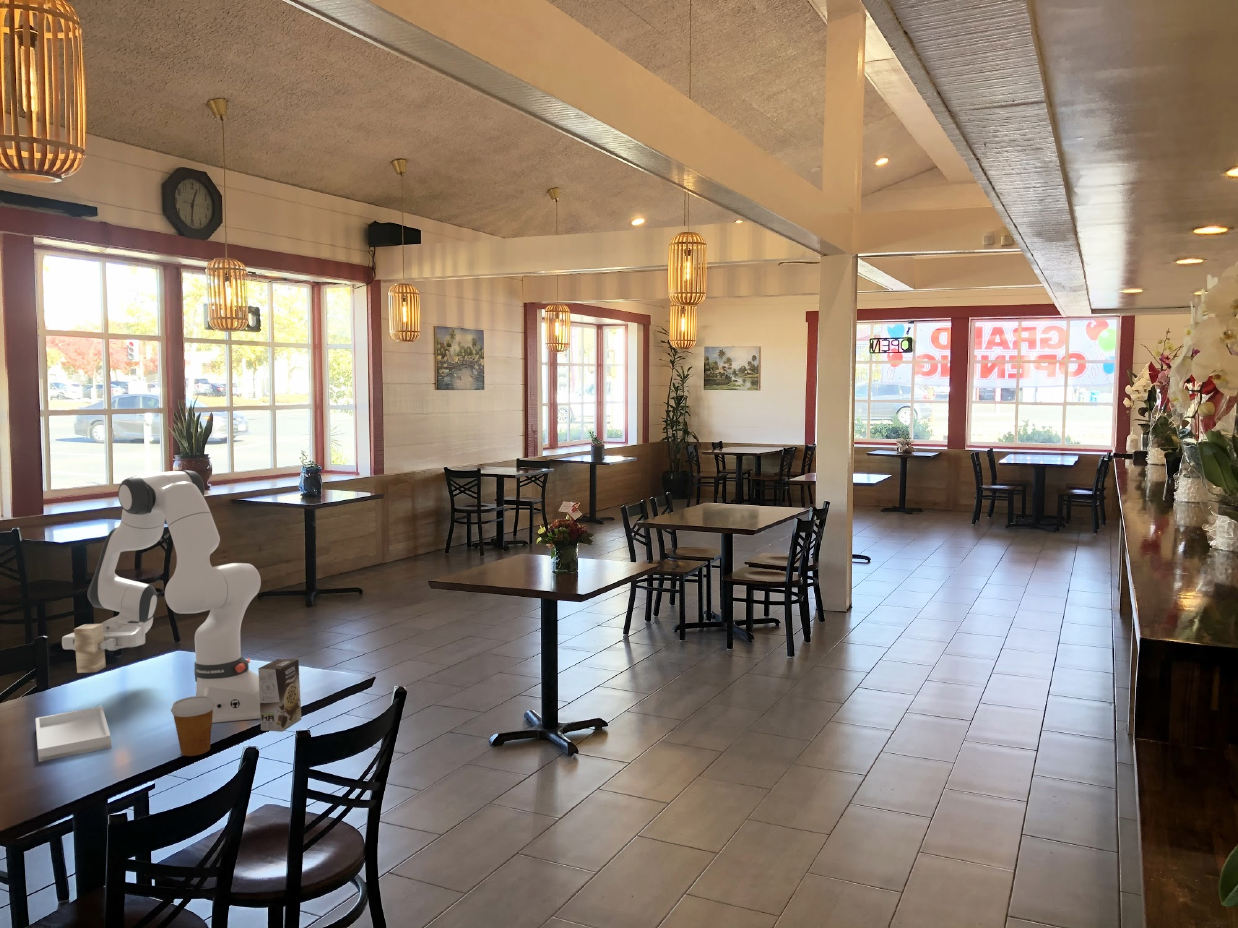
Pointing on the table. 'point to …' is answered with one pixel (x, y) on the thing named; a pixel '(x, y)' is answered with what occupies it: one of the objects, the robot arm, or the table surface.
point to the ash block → (89, 648)
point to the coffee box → (279, 694)
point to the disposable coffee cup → (193, 724)
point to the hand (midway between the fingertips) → (88, 646)
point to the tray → (72, 733)
